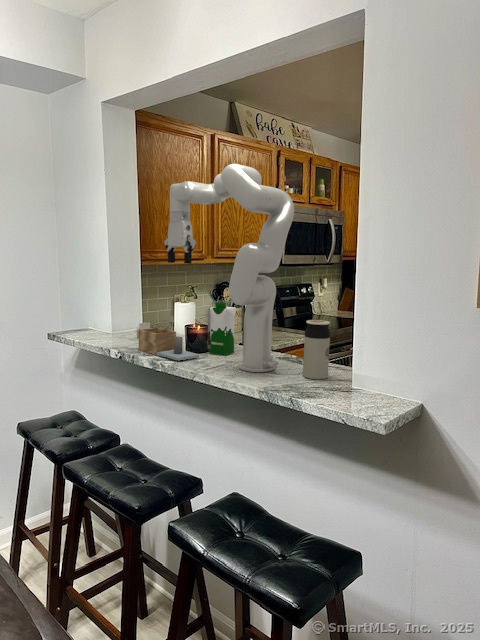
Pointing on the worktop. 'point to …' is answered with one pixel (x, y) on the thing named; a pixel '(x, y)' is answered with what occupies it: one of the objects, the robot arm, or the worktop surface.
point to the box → (156, 340)
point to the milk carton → (222, 329)
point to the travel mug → (316, 350)
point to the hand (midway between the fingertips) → (179, 262)
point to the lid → (178, 351)
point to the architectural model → (142, 327)
